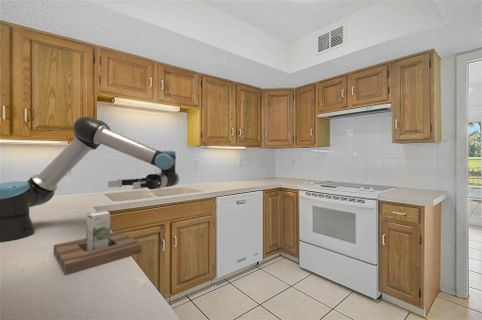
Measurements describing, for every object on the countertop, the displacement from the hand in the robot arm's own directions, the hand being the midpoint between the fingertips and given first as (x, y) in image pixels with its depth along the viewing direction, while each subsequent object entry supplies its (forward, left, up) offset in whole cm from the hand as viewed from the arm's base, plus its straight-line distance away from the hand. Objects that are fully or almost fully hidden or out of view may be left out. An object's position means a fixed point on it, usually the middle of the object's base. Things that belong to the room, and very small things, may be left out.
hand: (120, 185), depth 96 cm
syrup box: (+9, -10, -23) cm, 27 cm away
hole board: (+8, -11, -23) cm, 26 cm away
